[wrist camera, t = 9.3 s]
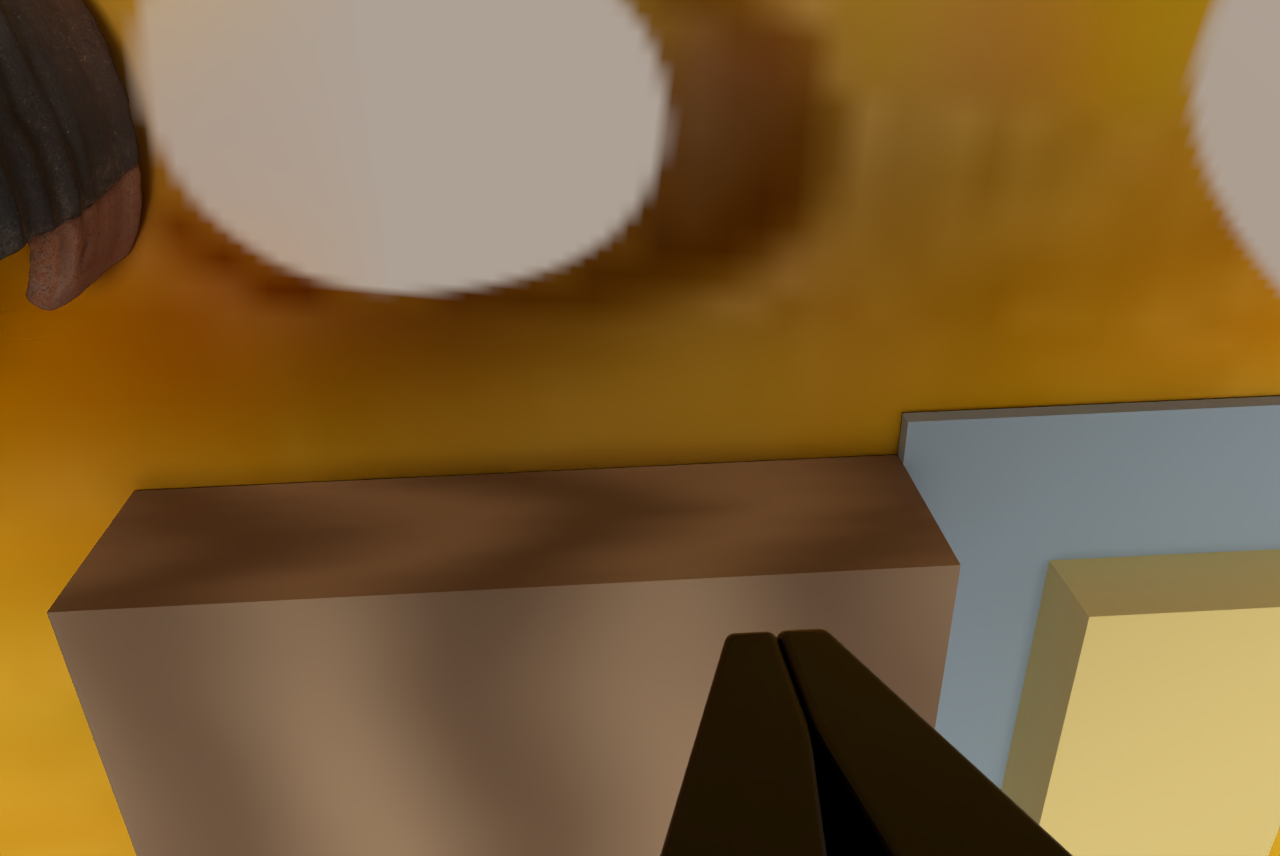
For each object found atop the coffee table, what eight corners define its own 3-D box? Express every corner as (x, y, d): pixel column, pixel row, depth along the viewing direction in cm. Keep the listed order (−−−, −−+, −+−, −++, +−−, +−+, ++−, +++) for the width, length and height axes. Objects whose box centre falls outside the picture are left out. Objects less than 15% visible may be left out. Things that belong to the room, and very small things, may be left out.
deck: (897, 454, 22) (960, 565, 18) (847, 891, 28) (886, 1034, 25) (134, 490, 21) (47, 612, 18) (265, 930, 28) (220, 1081, 24)
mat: (1365, 391, 22) (1378, 400, 21) (1190, 892, 29) (1197, 904, 29) (902, 412, 21) (908, 422, 21) (844, 915, 29) (848, 927, 29)
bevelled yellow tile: (1089, 616, 21) (1049, 560, 23) (1019, 904, 25) (991, 838, 27) (1369, 602, 21) (1308, 547, 23) (1254, 889, 26) (1210, 824, 27)
